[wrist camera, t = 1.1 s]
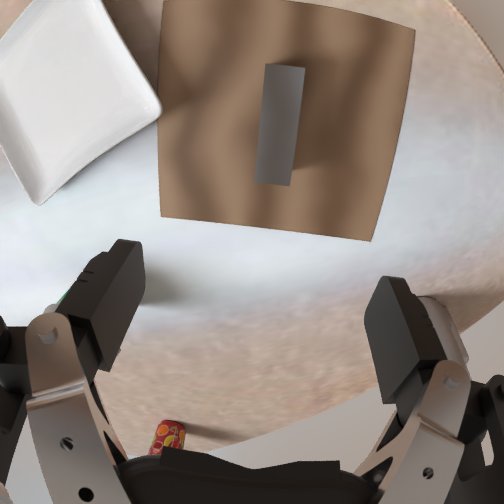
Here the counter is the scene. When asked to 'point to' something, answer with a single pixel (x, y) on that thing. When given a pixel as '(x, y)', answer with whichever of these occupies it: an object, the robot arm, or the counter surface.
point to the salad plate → (67, 92)
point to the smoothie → (167, 437)
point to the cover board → (234, 108)
